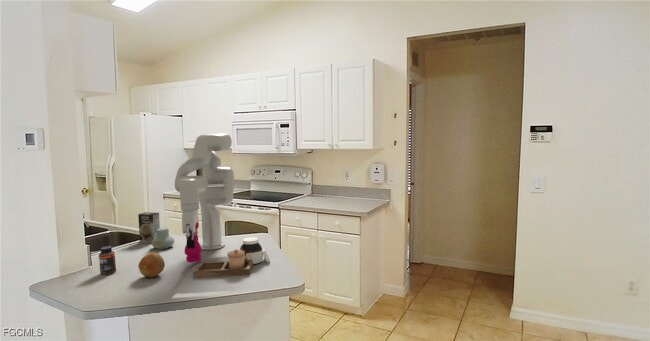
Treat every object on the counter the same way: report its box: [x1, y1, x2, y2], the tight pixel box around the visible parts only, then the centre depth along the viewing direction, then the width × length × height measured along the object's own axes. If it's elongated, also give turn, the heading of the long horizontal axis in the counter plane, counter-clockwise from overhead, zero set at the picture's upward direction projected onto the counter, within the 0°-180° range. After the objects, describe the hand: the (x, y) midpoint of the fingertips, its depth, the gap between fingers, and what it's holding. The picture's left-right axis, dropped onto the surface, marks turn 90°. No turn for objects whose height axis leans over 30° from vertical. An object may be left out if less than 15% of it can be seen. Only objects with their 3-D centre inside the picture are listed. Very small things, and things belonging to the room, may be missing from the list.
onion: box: [137, 251, 166, 278], centre depth 156 cm, size 10×10×10 cm
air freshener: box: [151, 227, 175, 250], centre depth 198 cm, size 11×8×10 cm
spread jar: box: [239, 236, 271, 266], centre depth 168 cm, size 12×11×12 cm
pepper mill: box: [184, 222, 203, 263], centre depth 167 cm, size 7×7×20 cm
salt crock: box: [227, 249, 245, 269], centre depth 156 cm, size 7×7×9 cm
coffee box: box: [137, 211, 161, 244], centre depth 210 cm, size 9×6×16 cm
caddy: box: [193, 260, 254, 279], centre depth 156 cm, size 11×22×4 cm, turn 95°
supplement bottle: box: [98, 245, 117, 276], centre depth 161 cm, size 6×6×11 cm
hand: (192, 245), depth 167 cm, fingers closed on pepper mill, 5 cm apart
